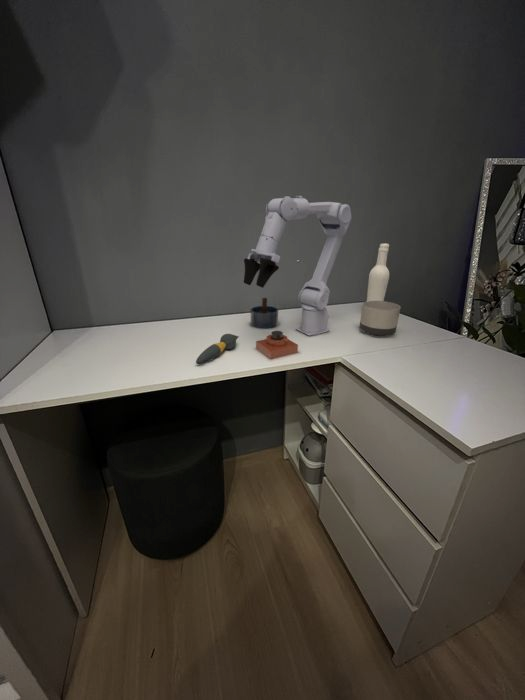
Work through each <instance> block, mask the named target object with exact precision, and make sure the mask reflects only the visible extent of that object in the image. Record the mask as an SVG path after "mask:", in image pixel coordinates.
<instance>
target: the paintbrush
mask: <svg viewBox="0 0 525 700" xmlns="http://www.w3.org/2000/svg"><path fill="white" fill-rule="evenodd" d="M239 338H240V336H239V335H236V334H232V333H224V334H223V335H222V336H221V337H220V339H219V342H216V343H213V344H211V345H210V346H208V347H207V348H205V349H204V350H203V351H202V352H201V353H200V354H199V355H198V357H197V358H196V359H195V363H196V364H197V365H203V364H205V363H207V362H211V361H212V360H214V359H215V358H217V357H218V356H220V355H221V354H222V353H223V351H224V350H232V349H234V348H235V346H236V343H237V339H239Z"/></svg>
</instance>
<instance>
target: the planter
mask: <svg viewBox="0 0 525 700" xmlns="http://www.w3.org/2000/svg"><path fill="white" fill-rule="evenodd" d="M400 313H401V305H399V304H397V303H395V302H392V301H391V302H390V301H386V300H384V301H367V300H366V301H364V302H362V307H361V313H360V314H361V315H360V318H359V325H358V328H359V329H360V330H361V331H362V332H364V333H365V334H367V335H371V336H375V337H387V336H392V335H394V334H395V333H396V332H397V327H398V323H399V318H400Z"/></svg>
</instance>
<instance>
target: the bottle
mask: <svg viewBox="0 0 525 700" xmlns="http://www.w3.org/2000/svg"><path fill="white" fill-rule="evenodd" d="M389 247H390V244H389V243H380V244H379V248H378V250H377V251H378V252H377V259H376V264H375V265H374V266H373V267H372V268H371V270H370V272H369V274H368V282H367V295H366V301H385V297H386V293H387V288H388V285H389V280H390V271H389V268H388V267H387V261H388V260H387V259H388V253H389V250H390V249H389Z"/></svg>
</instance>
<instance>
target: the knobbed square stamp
mask: <svg viewBox="0 0 525 700" xmlns="http://www.w3.org/2000/svg"><path fill="white" fill-rule="evenodd" d="M255 349H256V350H257V351H258V352H260V353H261V354H262V355H264V356H265V357H266V358H268V359H270V360H272V359H273V360H274V359H278V358H281V357H286V356H289V355H293V354H297V353H298V352H299V344H297V343H296V342H294V341H292V340H291V339H289V338H288V336H287V335H285V334H283V339H282V340H273V339H271V334H268V335H266V338H265V339H259V340H256V341H255Z"/></svg>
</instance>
